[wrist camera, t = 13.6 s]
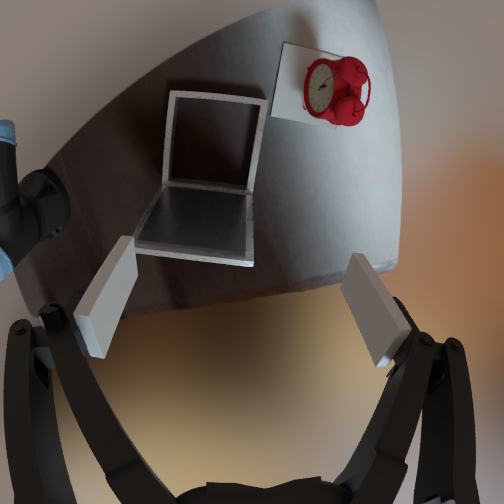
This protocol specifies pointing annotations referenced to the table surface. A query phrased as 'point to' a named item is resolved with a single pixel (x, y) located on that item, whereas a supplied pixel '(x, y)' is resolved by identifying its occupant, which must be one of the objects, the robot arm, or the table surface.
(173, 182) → the case
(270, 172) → the table surface
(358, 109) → the alarm clock
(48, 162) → the table surface
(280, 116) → the mat
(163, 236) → the lid
